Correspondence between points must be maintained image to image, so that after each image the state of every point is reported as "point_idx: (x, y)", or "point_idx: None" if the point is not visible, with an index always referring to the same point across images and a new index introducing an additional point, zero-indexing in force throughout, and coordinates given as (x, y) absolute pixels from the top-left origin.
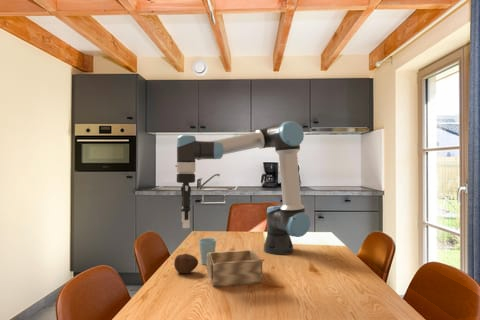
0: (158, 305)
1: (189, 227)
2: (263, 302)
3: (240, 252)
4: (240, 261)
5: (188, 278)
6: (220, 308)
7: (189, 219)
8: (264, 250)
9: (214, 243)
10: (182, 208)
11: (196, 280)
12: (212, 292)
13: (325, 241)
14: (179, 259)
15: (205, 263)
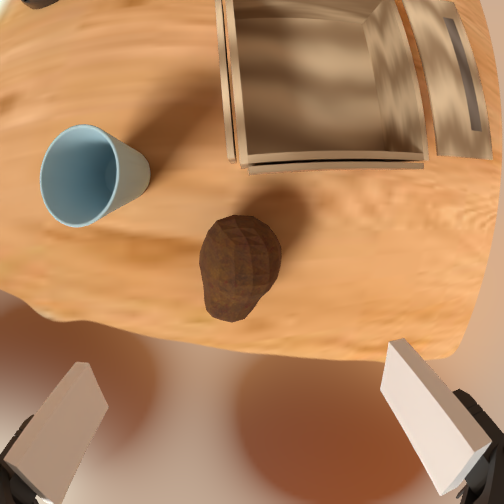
0: (448, 303)
1: (406, 342)
2: None
3: (233, 14)
4: (477, 74)
5: (298, 245)
6: (484, 168)
7: (443, 385)
8: (53, 1)
9: (106, 132)
10: (60, 493)
11: (323, 215)
12: (420, 170)
13: None
14: (253, 304)
15: (147, 182)
